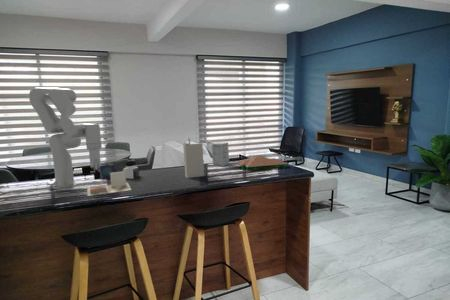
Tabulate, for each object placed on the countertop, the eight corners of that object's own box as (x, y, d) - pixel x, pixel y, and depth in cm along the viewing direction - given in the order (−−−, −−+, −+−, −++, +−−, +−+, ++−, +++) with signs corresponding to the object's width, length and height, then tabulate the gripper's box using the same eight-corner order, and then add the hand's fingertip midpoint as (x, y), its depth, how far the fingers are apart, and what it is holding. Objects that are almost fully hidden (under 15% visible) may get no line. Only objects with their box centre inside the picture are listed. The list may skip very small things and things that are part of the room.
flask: (99, 179, 194) (98, 163, 193) (100, 178, 197) (98, 162, 196) (115, 177, 197) (113, 161, 196) (115, 177, 200) (113, 161, 199)
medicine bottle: (134, 180, 190) (132, 161, 188) (123, 179, 191) (122, 161, 189) (139, 177, 197) (137, 159, 195) (129, 177, 198) (127, 159, 196)
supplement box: (229, 164, 230) (228, 142, 228) (223, 166, 223) (222, 144, 220) (219, 163, 235) (218, 142, 233) (212, 165, 228) (211, 143, 225)
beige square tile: (111, 187, 170) (110, 173, 169) (111, 186, 172) (109, 172, 171) (126, 185, 173) (125, 171, 172) (125, 184, 175) (124, 171, 174)
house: (234, 165, 226) (234, 155, 224) (275, 162, 233) (275, 152, 232) (243, 172, 203) (243, 160, 202) (288, 168, 211) (288, 156, 210)
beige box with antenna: (204, 176, 195) (202, 137, 191) (187, 178, 191) (185, 138, 187) (200, 174, 202) (199, 136, 198) (184, 176, 198) (182, 137, 194)
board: (87, 197, 155) (87, 196, 154) (87, 189, 171) (87, 187, 171) (131, 191, 163) (131, 189, 163) (127, 184, 180) (127, 182, 180)
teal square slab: (90, 190, 166) (90, 193, 159) (89, 186, 165) (90, 190, 158) (105, 187, 169) (106, 191, 162) (105, 184, 169) (106, 187, 161)
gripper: (86, 145, 169) (89, 177, 171) (86, 148, 155) (90, 182, 158) (100, 144, 172) (104, 175, 174) (102, 147, 158) (105, 181, 161)
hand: (97, 179), depth 166 cm, fingers closed
